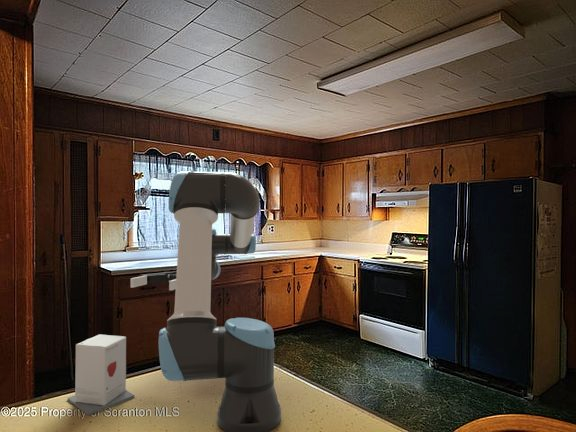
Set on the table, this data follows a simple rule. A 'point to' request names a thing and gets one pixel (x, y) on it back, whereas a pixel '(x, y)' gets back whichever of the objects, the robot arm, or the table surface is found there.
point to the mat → (95, 408)
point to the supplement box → (100, 369)
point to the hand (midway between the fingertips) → (150, 284)
